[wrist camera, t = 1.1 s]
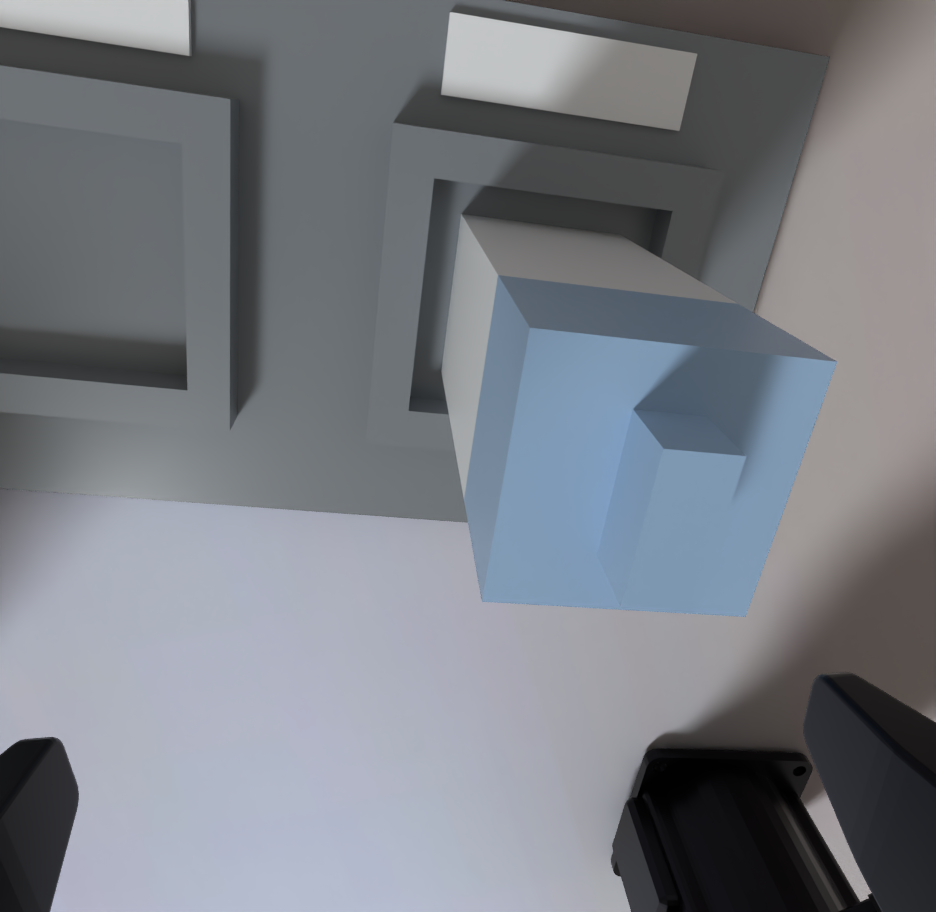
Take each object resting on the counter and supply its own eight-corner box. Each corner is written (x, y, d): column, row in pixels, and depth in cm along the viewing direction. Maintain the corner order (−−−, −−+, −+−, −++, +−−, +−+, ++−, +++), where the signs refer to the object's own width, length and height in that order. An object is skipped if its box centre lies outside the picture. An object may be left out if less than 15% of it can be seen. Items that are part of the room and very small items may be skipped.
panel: (812, 58, 18) (854, 54, 16) (675, 524, 23) (697, 556, 22) (-264, -127, 15) (-346, -155, 13) (-132, 464, 20) (-178, 495, 18)
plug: (620, 234, 18) (894, 395, 8) (588, 386, 20) (783, 671, 10) (461, 214, 18) (549, 359, 8) (441, 371, 20) (492, 658, 9)
